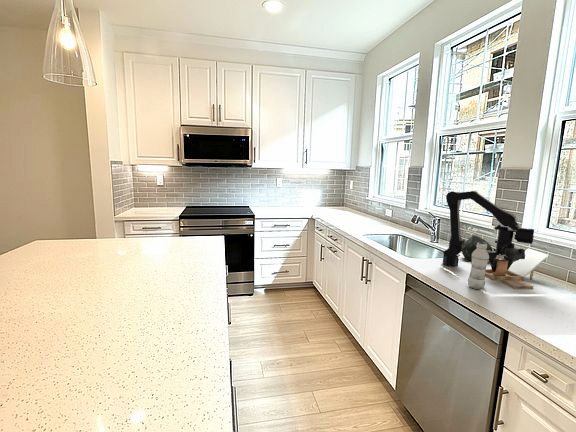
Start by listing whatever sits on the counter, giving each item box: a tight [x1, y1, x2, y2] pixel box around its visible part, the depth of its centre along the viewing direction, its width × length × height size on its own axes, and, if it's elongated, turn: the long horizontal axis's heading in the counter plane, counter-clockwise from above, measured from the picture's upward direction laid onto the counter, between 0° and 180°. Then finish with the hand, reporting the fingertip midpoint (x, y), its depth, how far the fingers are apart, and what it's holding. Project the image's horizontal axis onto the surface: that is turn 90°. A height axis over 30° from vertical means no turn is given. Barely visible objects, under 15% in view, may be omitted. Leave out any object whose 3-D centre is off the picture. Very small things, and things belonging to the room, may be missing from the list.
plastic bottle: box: [467, 242, 489, 291], centre depth 131 cm, size 6×7×20 cm
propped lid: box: [508, 248, 550, 280], centre depth 147 cm, size 11×11×13 cm
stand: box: [500, 280, 534, 290], centre depth 135 cm, size 9×7×2 cm
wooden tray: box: [485, 268, 525, 281], centre depth 146 cm, size 15×11×2 cm
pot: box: [493, 257, 508, 276], centre depth 146 cm, size 5×5×8 cm
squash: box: [461, 234, 493, 262], centre depth 173 cm, size 14×15×15 cm
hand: (499, 271), depth 146 cm, fingers open, 6 cm apart
